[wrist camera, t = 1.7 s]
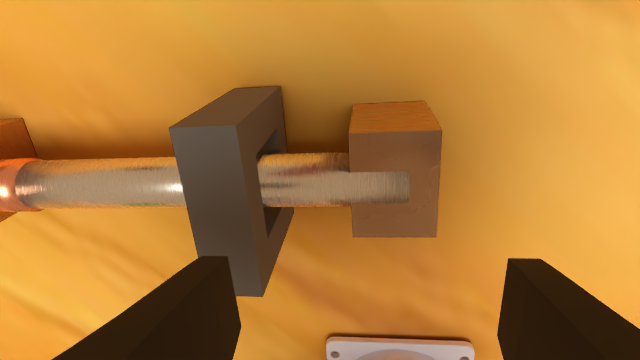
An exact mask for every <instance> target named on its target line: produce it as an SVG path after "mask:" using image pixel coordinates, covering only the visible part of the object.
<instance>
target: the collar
mask: <svg viewBox="0 0 640 360" xmlns="http://www.w3.org/2000/svg"><path fill="white" fill-rule="evenodd" d="M169 131H170V136H171V140H172V145H173V149H174V153H175V158H176V162H177V167H178V171H179V175H180V180H181V184H182V188H183V193H184V197H185V202H186V206H187V210H188V215H189V219H190V223H191V228H192V232H193V237H194V241H195V245H196V250H197V254H198V258H199V257H201V256H228V260H229V265H230V270H231V276H232V281H233V286H234V291H235V296H253V297H263V295H264V293H265V290H266V287H267V284H268V282H269V279H270V276H271V274H272V271H273V268H274V265H275V263H276V260H277V257H278V255H279V252H280V249H281V246H282V244H283V241H284V238H285V236H286V233H287V230H288V227H289V225H290V222H291V219H292V217H293V214H294V209H293V207H263V203H262V196H261V189H260V182H259V175H258V168H257V161H256V155H259V154H288V153H287V144H286V135H285V125H284V116H283V107H282V98H281V88H280V86H275V87H255V88H235V89H233V90H231V91H229V92H228V93H226V94H224V95H223V96H221V97H219V98H218V99H216V100H214V101H213V102H211V103H209V104H208V105H206V106H204V107H203V108H201V109H199V110H198V111H196V112H194V113H193V114H191V115H189V116H188V117H186V118H184V119H183V120H181V121H179V122H178V123H176V124H174V125H173V126H171V127H169Z"/></svg>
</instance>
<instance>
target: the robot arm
mask: <svg viewBox="0 0 640 360" xmlns="http://www.w3.org/2000/svg"><path fill="white" fill-rule="evenodd" d="M240 330H241V322H240V317H239V312H238V307H237V302H236V296H235V291H234V286H233V281H232V276H231V270H230V265H229V260H228V256H201V257H199V258H198V259H196V260H195V261H193V262H192V263H190V264H189V265H187V266H186V267H184V268H183V269H182V270H180V271H179V272H178V273H176V274H175V275H173V276H172V277H171V278H169V279H168V280H167V281H165V282H164V283H162V284H161V285H160V286H158V287H157V288H156V289H154V290H153V291H152V292H150V293H149V294H147V295H146V296H145V297H143V298H142V299H140V300H139V301H138V302H136V303H135V304H134V305H132V306H131V307H129V308H128V309H127V310H125V311H124V312H122V313H121V314H120V315H118V316H117V317H115V318H114V319H112V320H111V321H109V322H108V323H106V324H105V325H103V326H102V327H100V328H99V329H97V330H96V331H94V332H93V333H91V334H90V335H88V336H87V337H85V338H84V339H82V340H81V341H80V342H78V343H77V344H75V345H74V346H72V347H71V348H69V349H68V350H66V351H64V352H63V353H61V354H60V355H58V356H57V357H55V358H53V359H52V360H232V359H233V356H234V353H235V349H236V345H237V341H238V337H239V333H240ZM497 336H498V340H499V344H500V347H501V351H502V355H503V359H504V360H640V329H639V328H637V327H636V326H634V325H633V324H631V323H630V322H629V321H627V320H626V319H624V318H623V317H622V316H620V315H619V314H617V313H616V312H614V311H613V310H612V309H610V308H609V307H608V306H606V305H605V304H603V303H602V302H601V301H599V300H598V299H596V298H595V297H594V296H592V295H591V294H590V293H588V292H587V291H585V290H584V289H583V288H581V287H580V286H578V285H577V284H576V283H574V282H573V281H572V280H570V279H569V278H567V277H566V276H565V275H563V274H562V273H560V272H559V271H558V270H556V269H555V268H553V267H552V266H550V265H549V264H547V263H546V262H544V261H543V260H541V259H514V258H508V263H507V270H506V277H505V284H504V291H503V298H502V305H501V312H500V319H499V326H498V333H497ZM333 351H336V352H337V353H335V352H333ZM474 355H475V351H474V348H473V345H472V344H471V343H469V342H466V341H446V340H418V339H390V338H362V337H330V338H328V339H327V342H326V356H327V360H474ZM461 357H465V358H461Z"/></svg>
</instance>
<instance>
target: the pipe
mask: <svg viewBox="0 0 640 360" xmlns="http://www.w3.org/2000/svg"><path fill="white" fill-rule="evenodd" d="M348 134H349V152H334V153H296V154H259V155H256V161H257V168H258V175H259V182H260V189H261V196H262V203H263V207H321V206H352V229H353V237H436V231H437V213H438V196H439V178H440V160H441V142H442V129H441V127H440V126H439V124H438V122H437V121H436V119H435V117H434V116H433V114H432V112H431V111H430V109H429V107H428V105H427V104H426V102H425V101H415V102H391V103H368V104H353V109H352V115H351V121H350V127H349V133H348ZM88 208H187V206H186V202H185V197H184V193H183V188H182V184H181V180H180V175H179V171H178V167H177V162H176V158H175V157H148V158H111V159H74V160H42V159H39V158H37V156H36V153H35V150H34V148H33V145H32V142H31V140H30V137H29V135H28V132H27V129H26V127H25V124H24V121H23V119H22V118H20V119H0V222H1V221H3V220H5V219H7V218H8V217H10V216H12V215H13V214H15V213H17V212H22V211H41V210H44V209H88Z"/></svg>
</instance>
